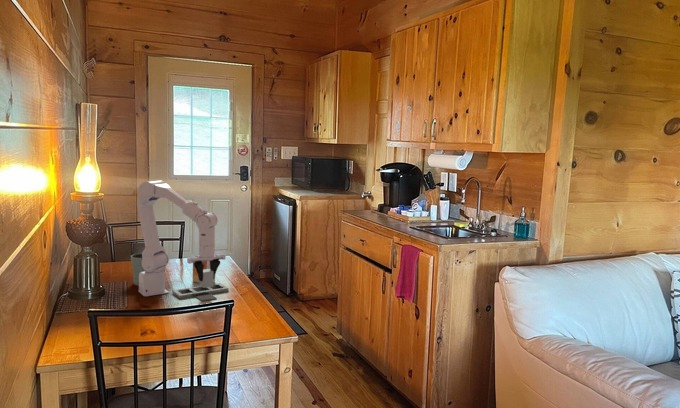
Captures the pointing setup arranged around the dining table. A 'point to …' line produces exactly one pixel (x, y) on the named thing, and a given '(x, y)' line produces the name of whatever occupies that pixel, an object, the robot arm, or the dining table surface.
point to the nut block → (207, 278)
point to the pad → (206, 297)
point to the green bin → (136, 267)
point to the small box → (206, 266)
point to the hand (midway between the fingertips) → (206, 279)
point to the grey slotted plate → (193, 291)
